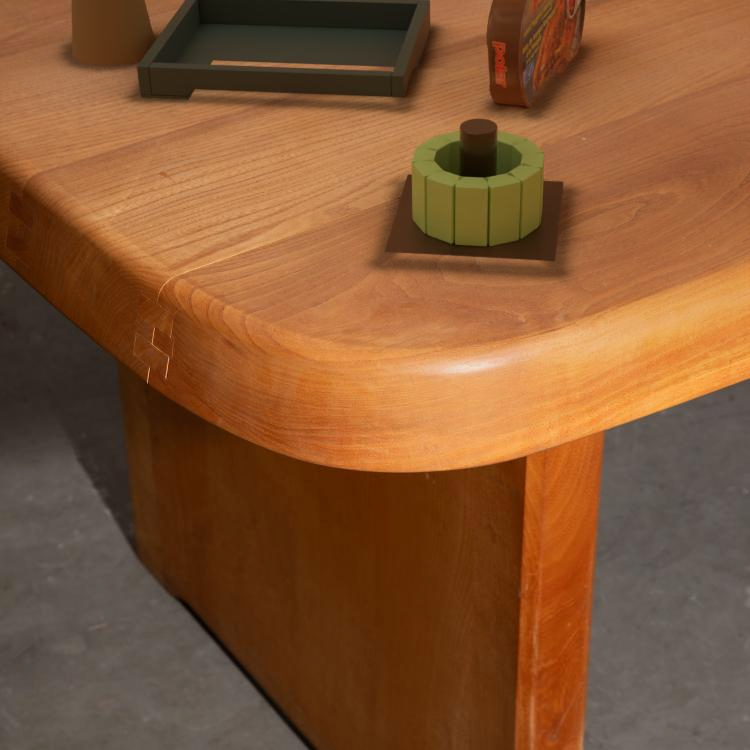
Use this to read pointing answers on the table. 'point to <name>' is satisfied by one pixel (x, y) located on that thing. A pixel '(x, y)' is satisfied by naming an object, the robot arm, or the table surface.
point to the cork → (110, 31)
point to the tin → (530, 45)
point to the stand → (480, 163)
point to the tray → (287, 47)
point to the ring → (477, 192)
